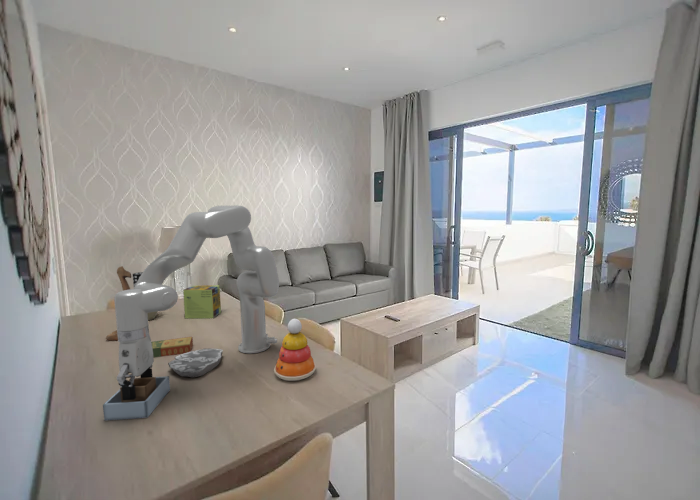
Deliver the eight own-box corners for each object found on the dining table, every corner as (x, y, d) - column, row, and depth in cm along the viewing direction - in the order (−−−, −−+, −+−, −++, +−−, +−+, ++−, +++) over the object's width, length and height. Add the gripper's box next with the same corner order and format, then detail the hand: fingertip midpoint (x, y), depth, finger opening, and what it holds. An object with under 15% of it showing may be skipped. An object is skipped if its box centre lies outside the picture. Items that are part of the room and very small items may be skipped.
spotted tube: (131, 308, 196) (129, 274, 194) (142, 304, 205) (140, 271, 202) (144, 309, 195) (141, 274, 193) (155, 305, 203) (152, 272, 201)
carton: (190, 353, 134) (190, 343, 134) (144, 359, 129) (143, 349, 129) (193, 345, 142) (192, 335, 142) (149, 351, 137) (148, 341, 137)
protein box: (213, 318, 177) (212, 289, 175) (184, 318, 177) (182, 289, 175) (221, 312, 187) (220, 285, 185) (193, 312, 187) (192, 285, 186)
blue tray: (170, 389, 107) (169, 376, 106) (147, 417, 92) (146, 402, 92) (133, 391, 106) (131, 378, 105) (104, 420, 91) (102, 404, 91)
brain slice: (186, 355, 132) (186, 348, 132) (229, 355, 132) (229, 348, 132) (156, 380, 113) (156, 372, 113) (207, 381, 112) (206, 372, 112)
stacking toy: (270, 368, 121) (268, 315, 118) (309, 360, 126) (308, 310, 124) (278, 387, 108) (276, 328, 105) (321, 378, 113) (320, 321, 111)
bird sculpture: (134, 340, 148) (131, 268, 145) (105, 341, 147) (101, 268, 143) (145, 331, 159) (142, 264, 156) (118, 332, 158) (115, 264, 154)
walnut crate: (156, 395, 102) (155, 377, 101) (148, 406, 97) (146, 386, 96) (132, 397, 101) (130, 378, 101) (122, 408, 96) (120, 388, 95)
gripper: (131, 344, 88) (136, 406, 90) (161, 322, 105) (165, 375, 107) (100, 345, 87) (106, 408, 90) (135, 323, 105) (140, 376, 107)
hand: (138, 390), depth 98 cm, fingers open, 9 cm apart
